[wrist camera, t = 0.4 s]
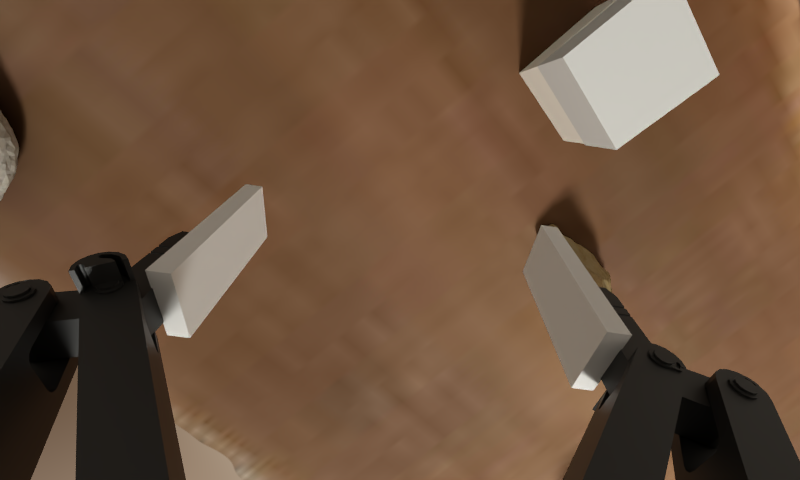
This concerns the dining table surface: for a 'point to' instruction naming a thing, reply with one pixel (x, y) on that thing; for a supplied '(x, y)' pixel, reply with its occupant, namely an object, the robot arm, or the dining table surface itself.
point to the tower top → (629, 69)
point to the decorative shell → (7, 155)
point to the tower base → (542, 88)
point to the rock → (590, 264)
